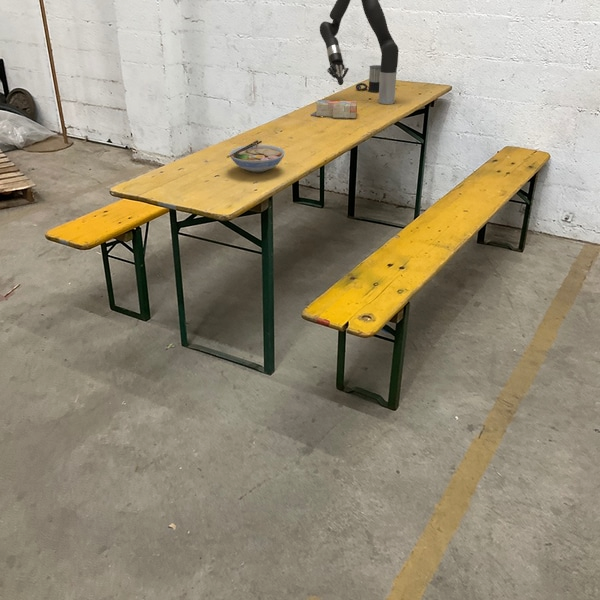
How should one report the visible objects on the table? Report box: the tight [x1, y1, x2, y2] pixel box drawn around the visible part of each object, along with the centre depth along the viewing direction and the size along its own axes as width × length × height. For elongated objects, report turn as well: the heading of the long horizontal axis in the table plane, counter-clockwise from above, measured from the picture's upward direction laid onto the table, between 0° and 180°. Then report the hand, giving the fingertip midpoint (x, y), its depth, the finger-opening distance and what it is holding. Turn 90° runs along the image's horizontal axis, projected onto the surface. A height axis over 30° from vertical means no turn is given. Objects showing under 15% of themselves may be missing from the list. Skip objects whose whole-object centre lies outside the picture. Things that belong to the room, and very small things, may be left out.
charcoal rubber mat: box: [310, 110, 349, 120], centre depth 335 cm, size 9×21×1 cm, turn 67°
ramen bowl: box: [226, 139, 286, 174], centre depth 256 cm, size 25×23×8 cm
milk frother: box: [355, 64, 381, 94], centre depth 387 cm, size 14×16×15 cm
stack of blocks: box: [315, 99, 358, 119], centre depth 333 cm, size 21×6×12 cm
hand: (341, 84), depth 342 cm, fingers closed
